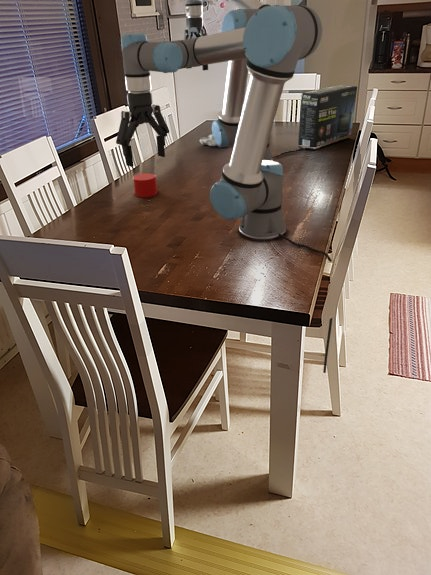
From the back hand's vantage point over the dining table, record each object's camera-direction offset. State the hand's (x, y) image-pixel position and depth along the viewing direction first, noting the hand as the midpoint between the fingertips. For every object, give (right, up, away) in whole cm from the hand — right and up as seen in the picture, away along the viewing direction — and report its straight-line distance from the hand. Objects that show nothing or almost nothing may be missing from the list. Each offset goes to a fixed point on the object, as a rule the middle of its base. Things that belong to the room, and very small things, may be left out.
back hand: (197, 69), depth 217 cm
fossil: (+9, -25, +34) cm, 43 cm away
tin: (-19, -65, -31) cm, 75 cm away
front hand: (-14, -62, -67) cm, 92 cm away
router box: (+67, -26, +28) cm, 77 cm away
